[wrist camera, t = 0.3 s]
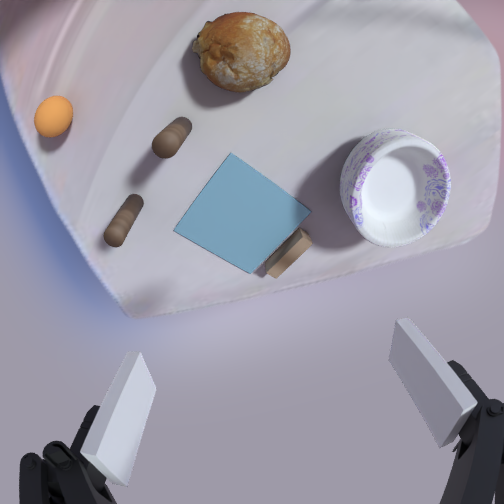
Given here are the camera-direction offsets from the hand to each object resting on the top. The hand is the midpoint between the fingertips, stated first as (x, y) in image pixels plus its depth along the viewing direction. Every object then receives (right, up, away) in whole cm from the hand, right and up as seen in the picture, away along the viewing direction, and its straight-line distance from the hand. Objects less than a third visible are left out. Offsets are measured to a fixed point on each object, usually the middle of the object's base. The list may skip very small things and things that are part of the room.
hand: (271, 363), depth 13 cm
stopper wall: (+4, +6, +30) cm, 31 cm away
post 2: (-10, +21, +18) cm, 29 cm away
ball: (-26, +22, +12) cm, 36 cm away
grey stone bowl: (+17, +17, +23) cm, 34 cm away
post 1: (-17, +12, +24) cm, 32 cm away
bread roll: (-2, +29, +13) cm, 32 cm away
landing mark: (-2, +10, +26) cm, 28 cm away
